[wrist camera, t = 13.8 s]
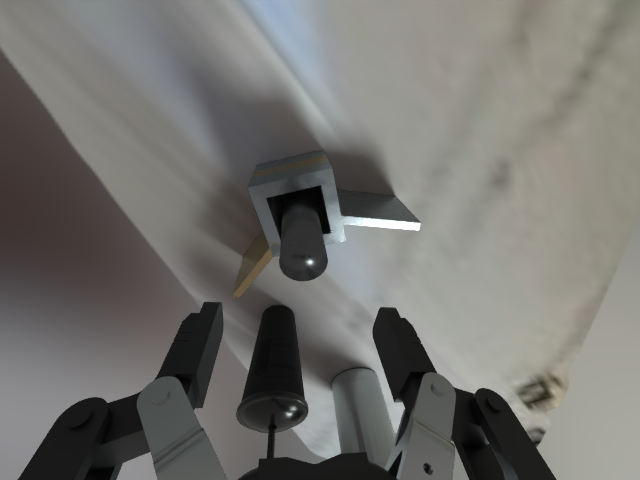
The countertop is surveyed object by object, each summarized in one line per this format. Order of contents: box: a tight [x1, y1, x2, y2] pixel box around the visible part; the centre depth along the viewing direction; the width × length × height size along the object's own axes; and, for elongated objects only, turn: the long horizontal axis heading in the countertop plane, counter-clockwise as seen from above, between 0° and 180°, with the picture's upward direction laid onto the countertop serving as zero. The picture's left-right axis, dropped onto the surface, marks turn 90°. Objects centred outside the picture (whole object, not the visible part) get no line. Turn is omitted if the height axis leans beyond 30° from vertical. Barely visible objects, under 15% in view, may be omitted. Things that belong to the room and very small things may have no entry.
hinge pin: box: [279, 187, 328, 281], centre depth 23 cm, size 3×3×14 cm
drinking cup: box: [236, 305, 308, 458], centre depth 30 cm, size 8×8×20 cm
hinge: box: [233, 150, 421, 298], centre depth 27 cm, size 11×20×7 cm, turn 102°
